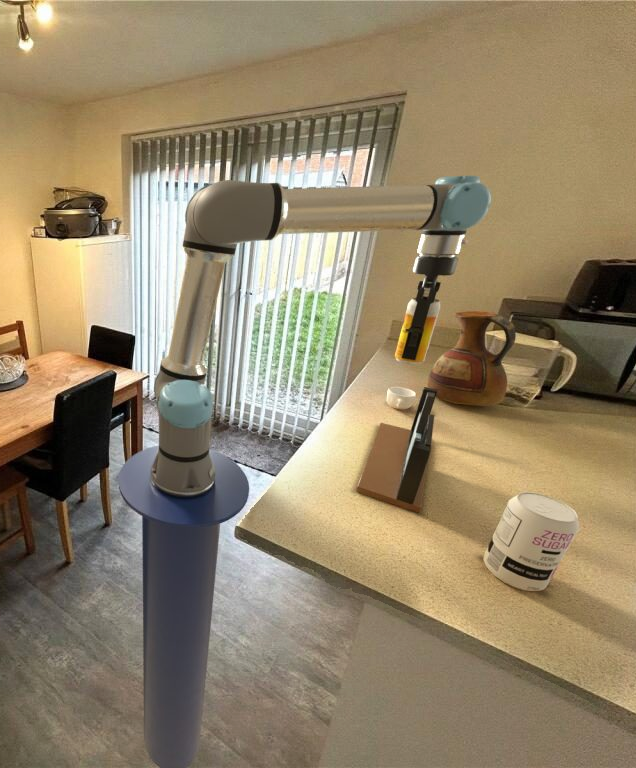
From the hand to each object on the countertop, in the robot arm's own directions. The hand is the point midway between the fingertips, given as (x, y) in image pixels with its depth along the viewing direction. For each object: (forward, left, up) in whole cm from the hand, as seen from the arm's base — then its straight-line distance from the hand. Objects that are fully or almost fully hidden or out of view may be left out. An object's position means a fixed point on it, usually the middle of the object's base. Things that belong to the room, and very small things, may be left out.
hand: (409, 354), depth 95 cm
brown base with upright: (+3, -6, -27) cm, 28 cm away
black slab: (+6, -11, -24) cm, 27 cm away
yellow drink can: (0, 0, -2) cm, 2 cm away
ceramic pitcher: (+16, +48, -27) cm, 58 cm away
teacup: (0, +30, -27) cm, 41 cm away
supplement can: (+23, -33, -27) cm, 48 cm away
